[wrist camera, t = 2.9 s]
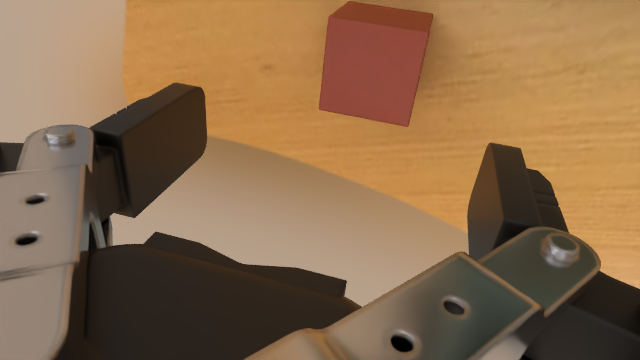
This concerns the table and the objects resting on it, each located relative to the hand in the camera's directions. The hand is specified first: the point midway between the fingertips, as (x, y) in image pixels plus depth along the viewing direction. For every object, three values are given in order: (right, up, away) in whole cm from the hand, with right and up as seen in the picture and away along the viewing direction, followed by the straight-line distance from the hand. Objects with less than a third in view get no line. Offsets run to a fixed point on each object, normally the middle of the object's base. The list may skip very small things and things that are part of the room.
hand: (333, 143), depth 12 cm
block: (+3, +6, +11) cm, 13 cm away
